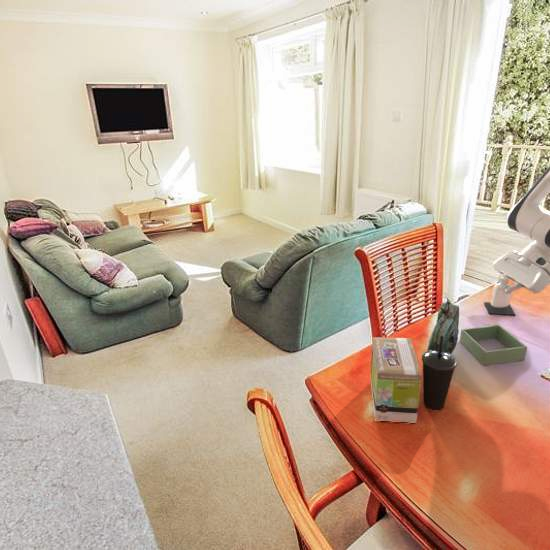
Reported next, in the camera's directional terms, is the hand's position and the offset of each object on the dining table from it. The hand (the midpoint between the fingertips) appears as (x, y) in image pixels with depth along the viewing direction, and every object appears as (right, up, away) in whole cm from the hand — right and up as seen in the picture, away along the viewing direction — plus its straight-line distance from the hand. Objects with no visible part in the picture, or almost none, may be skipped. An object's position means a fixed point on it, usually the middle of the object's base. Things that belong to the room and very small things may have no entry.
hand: (501, 289), depth 128 cm
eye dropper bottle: (+1, -6, +3) cm, 7 cm away
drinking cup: (-38, -28, -35) cm, 58 cm away
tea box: (-48, -28, -33) cm, 64 cm away
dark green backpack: (-31, -22, -22) cm, 44 cm away
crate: (-14, -18, -17) cm, 28 cm away
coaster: (+1, -7, +3) cm, 8 cm away
